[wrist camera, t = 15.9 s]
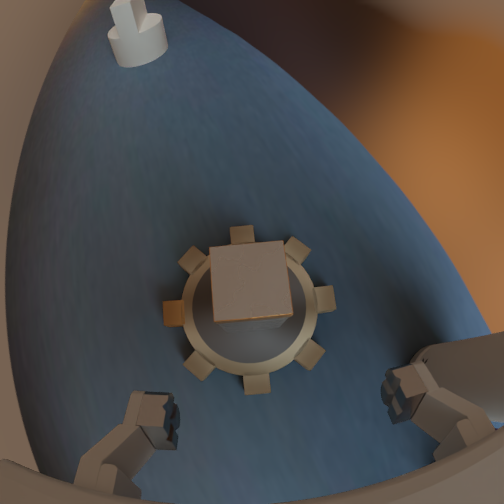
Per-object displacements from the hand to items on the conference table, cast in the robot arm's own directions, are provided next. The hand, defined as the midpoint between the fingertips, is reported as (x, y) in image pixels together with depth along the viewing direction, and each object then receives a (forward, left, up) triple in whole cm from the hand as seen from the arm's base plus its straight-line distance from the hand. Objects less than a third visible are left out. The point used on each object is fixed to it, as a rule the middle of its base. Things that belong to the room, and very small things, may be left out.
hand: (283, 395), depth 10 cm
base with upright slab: (+48, +15, -14) cm, 52 cm away
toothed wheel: (+6, +1, -14) cm, 15 cm away
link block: (+6, +1, -12) cm, 13 cm away
